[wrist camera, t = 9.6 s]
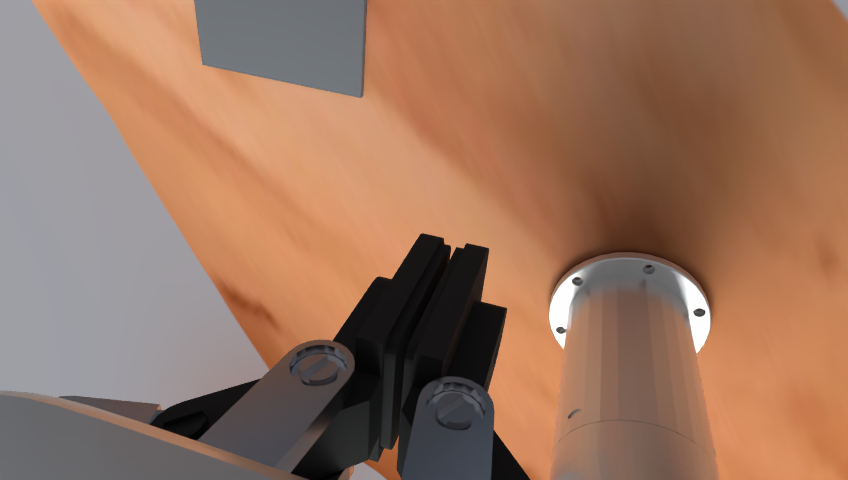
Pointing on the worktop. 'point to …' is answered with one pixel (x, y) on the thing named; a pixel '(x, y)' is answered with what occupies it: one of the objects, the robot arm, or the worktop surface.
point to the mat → (287, 40)
